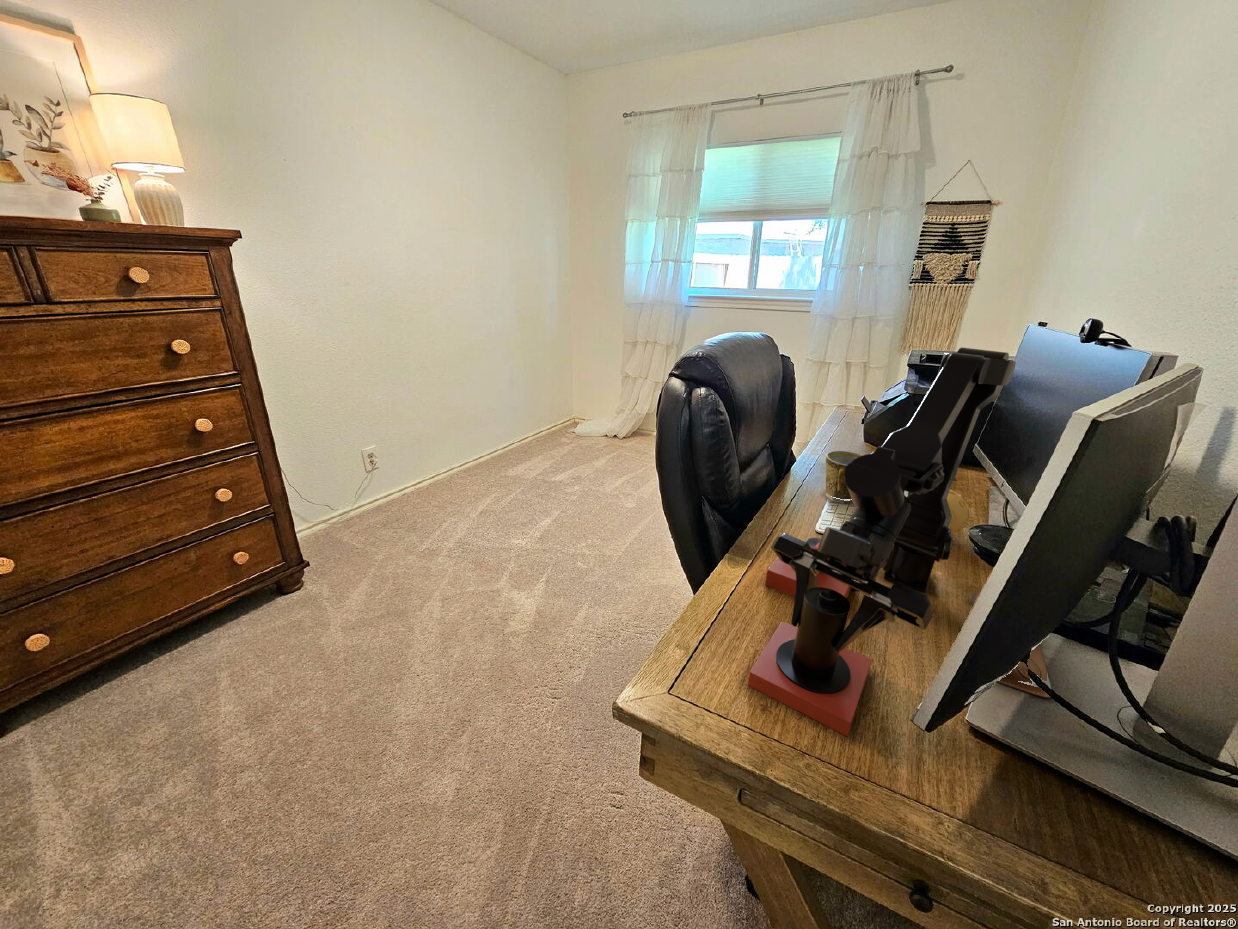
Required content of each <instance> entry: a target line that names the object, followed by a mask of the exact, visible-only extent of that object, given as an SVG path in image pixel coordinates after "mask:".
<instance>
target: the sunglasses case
mask: <svg viewBox="0 0 1238 929" xmlns="http://www.w3.org/2000/svg"><path fill="white" fill-rule="evenodd" d="M981 589H982V588H981ZM981 589H978V590H976V591H975V592H974V593H973V594H972V595H971V604H972V605H971V606H973V605H974V603H975V600H976V598H977V596H978V595H979V593H980V592H981ZM1041 647H1042V644H1039V645H1038V646H1037V647H1036V648H1035V649H1034V650H1032V651H1031V654H1030V659H1029V660H1028V662H1027V665H1028V667H1027V666H1026V664H1025V663H1024V662H1020V663H1019V664H1018V666H1017V667H1016V668H1015V669H1013V670H1012V672H1011V673H1010V674H1008V675H1006V677H1004V678H1002V679H1001V680H1000V681H998V682H997V683H998V684H1001V685H1003V686H1004V687H1005V686H1006V687H1009V688H1011V689H1014V690H1017V691H1021V692H1023V693H1027V694H1030V695H1034V696H1036V697H1037V696H1038V697H1041V698H1045V699H1052V698H1051V697H1050V696H1049V695H1048V694H1047V693H1046V692H1045V691H1043V690H1042V688H1039V687H1034V686H1031V685H1027V684H1024V683H1021V682H1018V681H1023V682H1029V683H1031V684H1032V681H1031V680H1030V676H1029V675H1028V669H1030V670H1031V671H1032V672H1034V673H1035V674H1036V675H1038V676H1039V677H1040V678H1042V680H1044V681H1047V670H1048V668H1046V667H1047V663H1046V660H1045V657H1044V653H1043V648H1041ZM1045 663H1046V664H1045ZM1051 688H1052V689H1053V686H1052V684H1051Z"/></svg>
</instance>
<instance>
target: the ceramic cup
mask: <svg viewBox="0 0 1238 929" xmlns="http://www.w3.org/2000/svg"><path fill="white" fill-rule="evenodd" d="M863 455H864V454H861V453H858V452H853V451H847V450H833V451H830V452H829V451H828V452H827V453H826V455H825V497H827V498H828V499H829V500H830V501H832V502H833V503H837V504H842V505H852V504H853V501H852V500H850V501H844V500H840V499H851V496H850V494H849V491H848V489H847V486H846V483H845V480H844V472H845V469H846V467H847V465H848V464H849V463H851V462H852V461H853V460H854V459H856V458H858V457H860V456H863ZM831 496H832V497H831ZM833 497H836V498H840V499H836V498H833ZM853 505H854V504H853Z"/></svg>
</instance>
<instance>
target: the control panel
mask: <svg viewBox="0 0 1238 929" xmlns="http://www.w3.org/2000/svg"><path fill="white" fill-rule="evenodd" d="M832 571H834V570H832ZM835 572H836V573H838V572H837V571H835ZM839 574H840V573H839ZM841 575H842V574H841ZM816 578H817V580H818V581H819V583H820V584H819V586H818V587H823V588H828V589H832V590H834V591H837V592H839V593H840V594H842V595H843V596H844V597H846V598H847V599H848V597H849V595H850V593H851V591H852V589H853V588H852V587H850V586H848V585H846V584H844V583H842V582H840V581H837V580H835V579H833V578H831V577H829V576H827V575H825V574H823V573H821V572H819V573H818V574H817V575H816ZM852 580H853V579H852ZM764 585H765V586H767V587H770V588H773V589H775V590H778V591H781V592H783V593H785V594H788V595H791V596H793V597H795V594H796V573H795V571H794V570H793V569H792V567H791V566H790V565H788V564H785V563H784V562H782V561H781V560H780V559H779V558H778V556H777V557H776V558H775V560H774V561H773V562H772V563H771V565H770V566H769V567H768V569H767V571H766V576H765V583H764Z"/></svg>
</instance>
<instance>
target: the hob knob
mask: <svg viewBox="0 0 1238 929" xmlns="http://www.w3.org/2000/svg"><path fill="white" fill-rule="evenodd" d="M821 539H822V537H821V538H820V537H810V538H807V539H806V540H805V542H806V543H808V544H809V546H810V547H811V549H812V551H813V552H814V554H815V555H818V556H820V557H822V558H824V559H827V560H828V558H829V557H827V556H825V555H824V554H822V553H820V552H818V551H817V549H818V547H819V544H820V541H821Z"/></svg>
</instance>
